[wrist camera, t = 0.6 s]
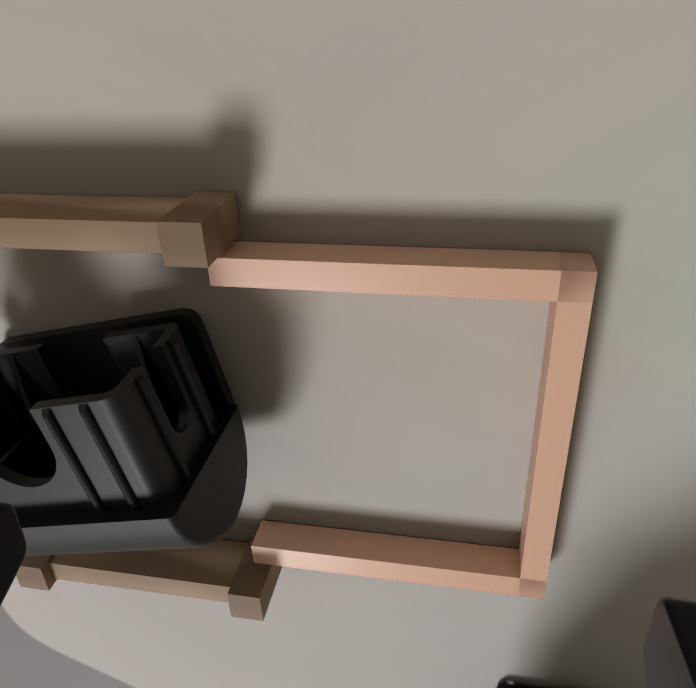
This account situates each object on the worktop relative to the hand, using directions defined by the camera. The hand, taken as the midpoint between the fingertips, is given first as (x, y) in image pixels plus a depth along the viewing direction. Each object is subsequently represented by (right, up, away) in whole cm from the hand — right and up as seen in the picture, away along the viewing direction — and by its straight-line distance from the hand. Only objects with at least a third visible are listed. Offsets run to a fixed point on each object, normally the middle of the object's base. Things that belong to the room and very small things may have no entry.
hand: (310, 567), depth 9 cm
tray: (+2, 0, +16) cm, 16 cm away
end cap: (-8, +1, +18) cm, 20 cm away
